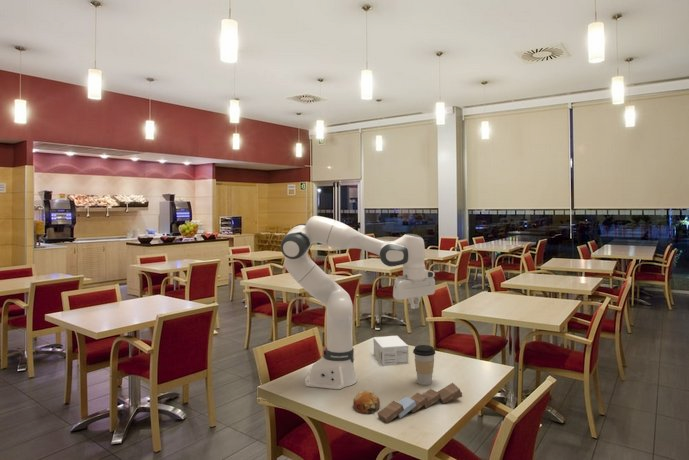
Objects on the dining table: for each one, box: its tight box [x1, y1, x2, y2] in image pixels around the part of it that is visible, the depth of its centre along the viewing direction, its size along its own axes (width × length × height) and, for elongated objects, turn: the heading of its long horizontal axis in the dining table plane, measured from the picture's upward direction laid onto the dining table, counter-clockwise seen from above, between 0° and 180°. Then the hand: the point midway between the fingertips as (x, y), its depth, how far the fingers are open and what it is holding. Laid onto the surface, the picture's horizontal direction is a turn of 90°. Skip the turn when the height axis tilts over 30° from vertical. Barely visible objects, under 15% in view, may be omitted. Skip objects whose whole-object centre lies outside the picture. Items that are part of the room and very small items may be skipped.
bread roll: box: [352, 390, 381, 414], centre depth 168 cm, size 10×10×8 cm
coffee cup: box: [412, 344, 436, 386], centre depth 191 cm, size 9×9×15 cm
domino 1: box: [376, 400, 404, 424], centre depth 159 cm, size 2×5×8 cm
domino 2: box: [396, 396, 416, 419], centre depth 163 cm, size 2×5×8 cm
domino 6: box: [448, 392, 463, 402], centre depth 176 cm, size 2×5×8 cm
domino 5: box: [437, 382, 462, 404], centre depth 173 cm, size 2×5×8 cm
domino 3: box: [409, 392, 428, 414], centre depth 167 cm, size 2×5×8 cm
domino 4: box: [421, 388, 441, 409], centre depth 170 cm, size 2×5×8 cm
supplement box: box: [373, 335, 409, 367], centre depth 221 cm, size 17×13×9 cm
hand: (414, 308), depth 181 cm, fingers closed
